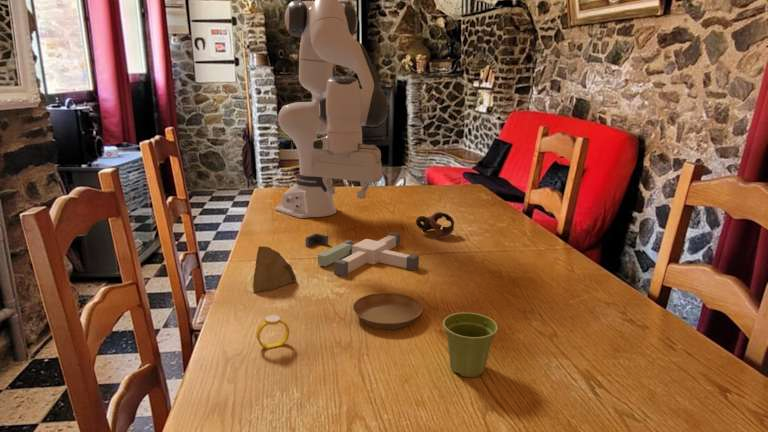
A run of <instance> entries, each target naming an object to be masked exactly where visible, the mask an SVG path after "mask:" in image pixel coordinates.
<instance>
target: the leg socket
mask: <svg viewBox="0 0 768 432" xmlns="http://www.w3.org/2000/svg"><path fill="white" fill-rule="evenodd" d="M316 244H317V245H323V246H328V245H329V236H328V235H325V234H320V233H313V234H311V235H308V236H306V237H305V247H307V248H308V247H312V246H313V245H316Z"/></svg>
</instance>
